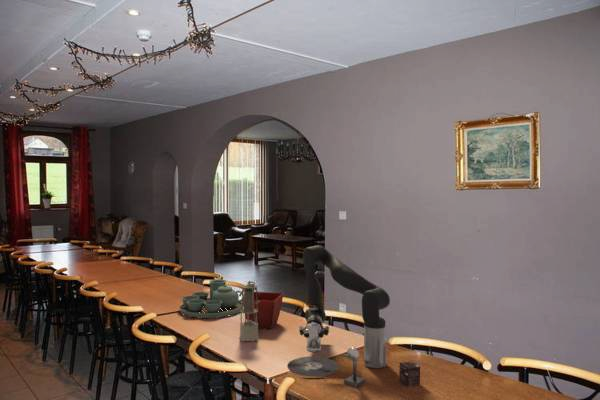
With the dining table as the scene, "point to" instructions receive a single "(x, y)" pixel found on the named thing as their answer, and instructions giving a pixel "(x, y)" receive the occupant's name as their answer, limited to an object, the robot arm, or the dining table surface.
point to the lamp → (248, 327)
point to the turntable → (313, 366)
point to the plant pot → (266, 309)
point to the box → (409, 373)
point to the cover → (313, 337)
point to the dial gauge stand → (353, 380)
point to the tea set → (212, 301)
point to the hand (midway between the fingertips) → (313, 335)
